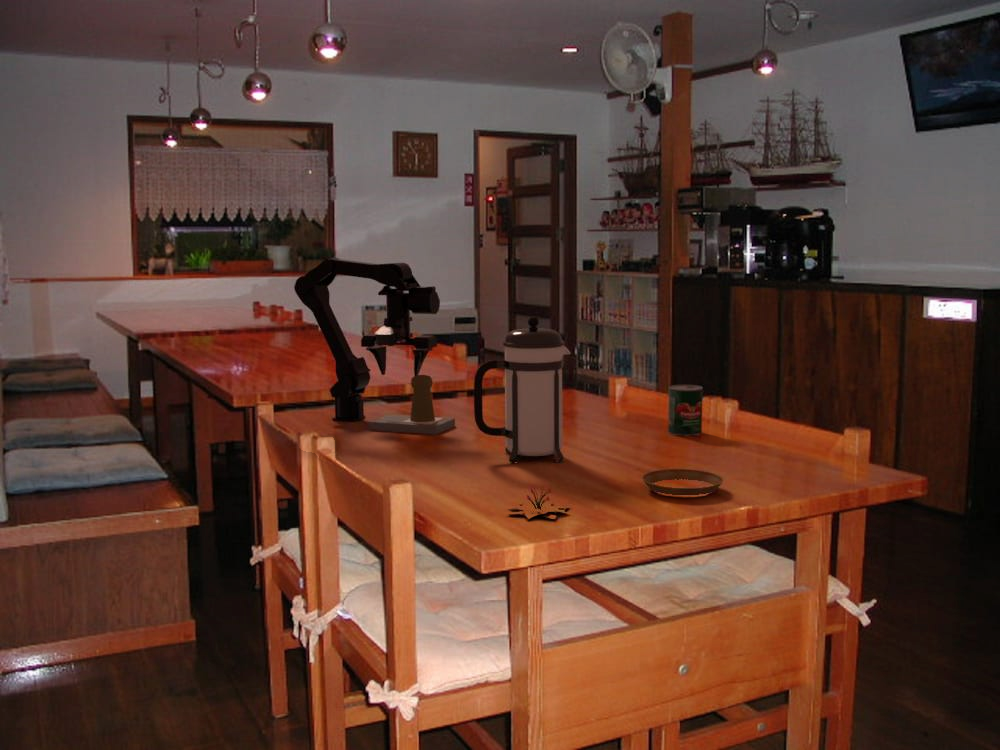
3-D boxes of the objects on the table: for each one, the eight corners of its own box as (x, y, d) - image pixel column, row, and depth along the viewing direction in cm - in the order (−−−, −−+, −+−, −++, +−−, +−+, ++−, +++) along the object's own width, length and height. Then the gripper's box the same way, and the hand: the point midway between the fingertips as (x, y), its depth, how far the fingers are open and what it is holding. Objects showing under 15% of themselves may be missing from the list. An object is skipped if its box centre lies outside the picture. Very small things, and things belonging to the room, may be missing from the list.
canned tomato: (687, 437, 233) (688, 390, 231) (661, 432, 239) (661, 387, 237) (708, 433, 238) (709, 387, 236) (682, 428, 244) (682, 383, 242)
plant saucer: (668, 505, 176) (669, 491, 176) (627, 486, 190) (627, 472, 190) (739, 497, 182) (739, 483, 182) (693, 478, 196) (694, 465, 195)
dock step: (369, 429, 246) (368, 421, 245) (390, 421, 256) (390, 413, 255) (436, 434, 239) (436, 425, 239) (455, 426, 249) (454, 417, 249)
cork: (438, 421, 244) (437, 376, 243) (413, 422, 242) (412, 377, 241) (430, 416, 250) (430, 372, 248) (407, 418, 248) (406, 374, 246)
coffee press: (529, 446, 225) (528, 312, 221) (583, 457, 214) (583, 316, 210) (472, 458, 213) (470, 317, 209) (526, 471, 202) (526, 321, 198)
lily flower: (493, 521, 169) (493, 494, 169) (518, 503, 180) (518, 478, 180) (561, 528, 165) (561, 501, 164) (583, 509, 176) (583, 483, 175)
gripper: (349, 315, 247) (351, 378, 249) (417, 316, 240) (419, 381, 242) (371, 311, 257) (372, 372, 259) (437, 313, 250) (438, 375, 252)
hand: (399, 375), depth 253 cm, fingers open, 9 cm apart
